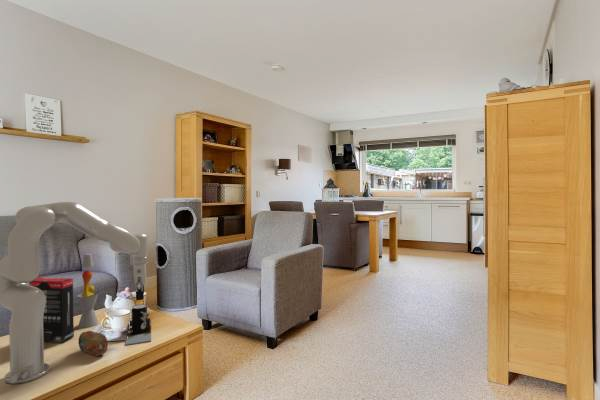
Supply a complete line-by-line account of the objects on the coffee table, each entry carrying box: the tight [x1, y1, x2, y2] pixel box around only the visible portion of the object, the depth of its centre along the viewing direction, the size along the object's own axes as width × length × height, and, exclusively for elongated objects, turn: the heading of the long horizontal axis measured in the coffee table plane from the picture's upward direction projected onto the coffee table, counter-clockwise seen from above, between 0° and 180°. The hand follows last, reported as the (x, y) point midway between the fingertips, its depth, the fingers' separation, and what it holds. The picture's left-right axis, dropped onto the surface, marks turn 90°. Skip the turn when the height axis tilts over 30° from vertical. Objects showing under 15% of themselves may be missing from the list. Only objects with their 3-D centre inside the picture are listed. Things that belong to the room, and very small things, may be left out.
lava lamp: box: [76, 253, 100, 329], centre depth 170 cm, size 9×9×35 cm
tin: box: [77, 330, 108, 357], centre depth 140 cm, size 15×3×8 cm, turn 65°
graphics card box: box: [29, 276, 75, 344], centre depth 152 cm, size 17×7×27 cm, turn 84°
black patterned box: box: [126, 317, 152, 334], centre depth 162 cm, size 10×10×4 cm
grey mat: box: [125, 332, 152, 346], centre depth 153 cm, size 9×10×1 cm
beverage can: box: [131, 303, 148, 335], centre depth 161 cm, size 7×7×12 cm
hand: (140, 296), depth 162 cm, fingers open, 9 cm apart
